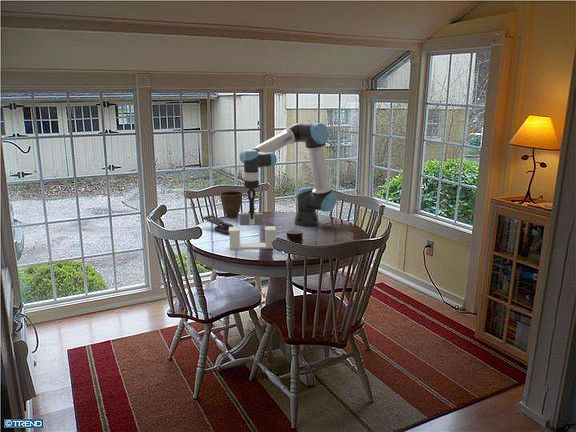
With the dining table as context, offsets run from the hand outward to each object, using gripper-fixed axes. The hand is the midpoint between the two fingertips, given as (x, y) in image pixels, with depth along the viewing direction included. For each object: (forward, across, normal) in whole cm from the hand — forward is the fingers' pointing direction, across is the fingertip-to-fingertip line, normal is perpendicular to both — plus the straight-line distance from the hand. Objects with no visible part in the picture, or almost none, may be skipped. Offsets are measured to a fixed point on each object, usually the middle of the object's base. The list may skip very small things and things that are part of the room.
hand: (252, 223), depth 261 cm
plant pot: (+13, -67, -14) cm, 69 cm away
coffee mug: (+13, +9, +22) cm, 27 cm away
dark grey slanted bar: (+13, -34, -20) cm, 42 cm away
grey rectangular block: (+1, 0, 0) cm, 1 cm away
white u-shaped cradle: (+13, 0, 0) cm, 13 cm away
